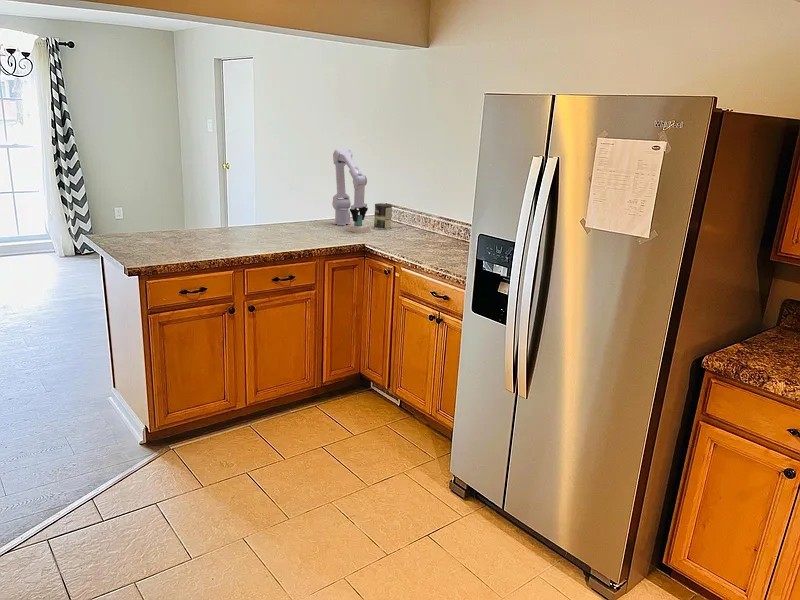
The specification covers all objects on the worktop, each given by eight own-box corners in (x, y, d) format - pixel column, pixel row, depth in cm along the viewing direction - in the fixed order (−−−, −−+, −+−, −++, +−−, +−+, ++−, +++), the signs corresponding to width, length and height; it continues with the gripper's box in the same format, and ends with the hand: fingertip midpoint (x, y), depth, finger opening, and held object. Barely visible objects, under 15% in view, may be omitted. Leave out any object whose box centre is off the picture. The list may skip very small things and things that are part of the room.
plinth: (355, 228, 359) (355, 223, 358) (370, 230, 355) (370, 225, 354) (346, 230, 350) (346, 225, 350) (361, 233, 346) (361, 227, 345)
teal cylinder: (356, 224, 355) (356, 214, 353) (363, 225, 353) (363, 215, 351) (352, 225, 351) (353, 215, 349) (359, 226, 349) (359, 216, 347)
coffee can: (376, 229, 359) (377, 205, 355) (372, 226, 369) (372, 203, 364) (393, 229, 362) (394, 206, 358) (388, 226, 372) (389, 203, 368)
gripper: (358, 198, 339) (357, 223, 343) (371, 196, 351) (370, 220, 355) (347, 197, 342) (347, 221, 346) (361, 195, 354) (360, 218, 358)
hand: (358, 220), depth 351 cm, fingers open, 7 cm apart
